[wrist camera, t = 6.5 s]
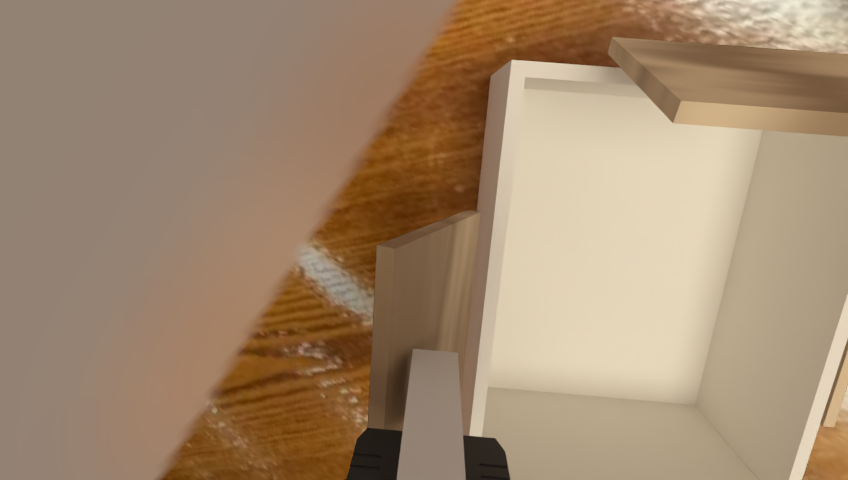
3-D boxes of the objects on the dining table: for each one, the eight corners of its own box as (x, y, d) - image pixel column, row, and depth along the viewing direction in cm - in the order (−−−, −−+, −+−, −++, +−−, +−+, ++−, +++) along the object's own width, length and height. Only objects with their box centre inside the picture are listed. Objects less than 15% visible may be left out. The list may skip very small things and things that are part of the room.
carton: (457, 398, 33) (461, 500, 25) (490, 75, 28) (511, 59, 19) (707, 420, 33) (802, 532, 24) (790, 98, 28) (950, 92, 19)
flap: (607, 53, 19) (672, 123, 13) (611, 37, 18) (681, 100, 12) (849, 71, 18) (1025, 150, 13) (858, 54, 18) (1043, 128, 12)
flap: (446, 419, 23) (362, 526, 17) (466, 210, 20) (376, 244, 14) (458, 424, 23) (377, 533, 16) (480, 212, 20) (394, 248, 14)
